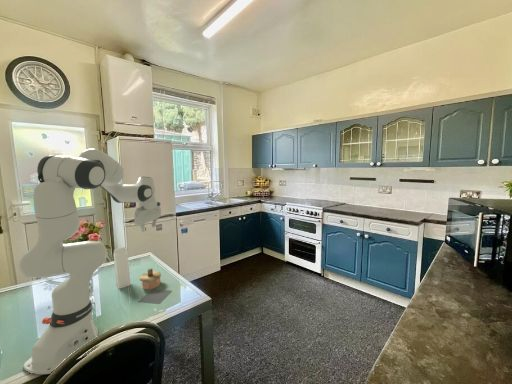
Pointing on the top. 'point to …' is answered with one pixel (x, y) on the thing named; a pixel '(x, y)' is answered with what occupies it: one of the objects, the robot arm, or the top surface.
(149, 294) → the mat
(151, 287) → the bowl
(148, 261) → the top surface
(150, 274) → the lid
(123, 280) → the milk
